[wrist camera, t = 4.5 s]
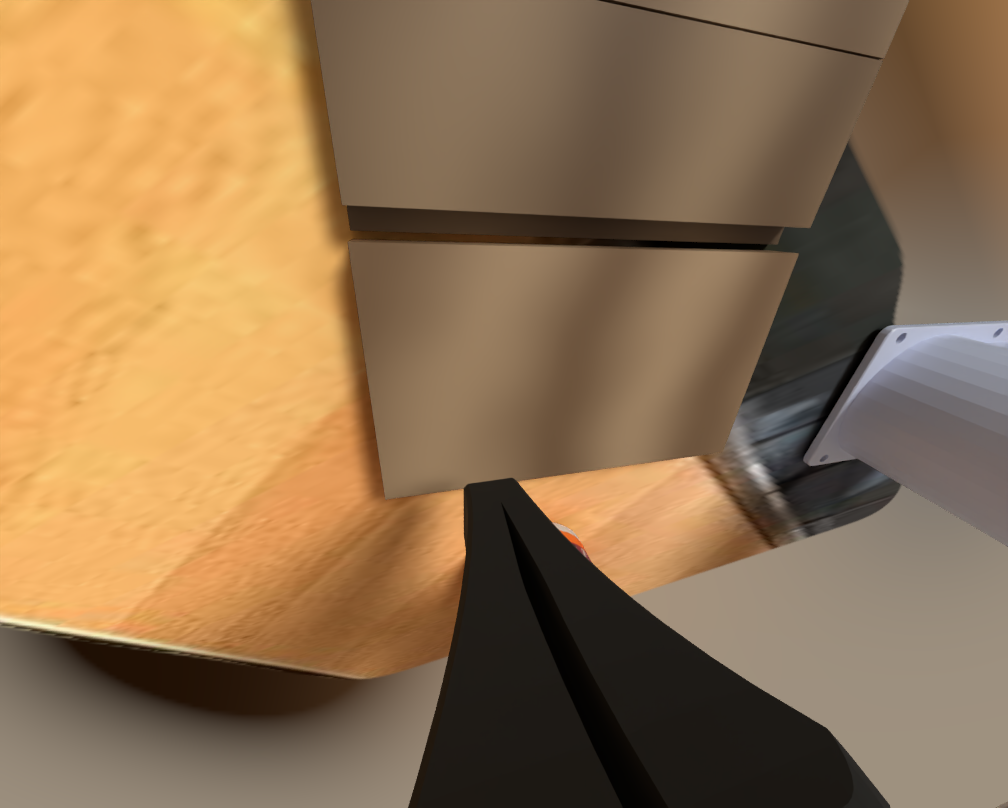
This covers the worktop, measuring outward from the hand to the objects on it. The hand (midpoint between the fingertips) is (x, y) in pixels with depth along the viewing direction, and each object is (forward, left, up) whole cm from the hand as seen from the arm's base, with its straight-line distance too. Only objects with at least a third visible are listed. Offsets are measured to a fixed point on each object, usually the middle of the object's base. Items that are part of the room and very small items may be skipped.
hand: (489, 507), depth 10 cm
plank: (-4, -2, -4) cm, 6 cm away
